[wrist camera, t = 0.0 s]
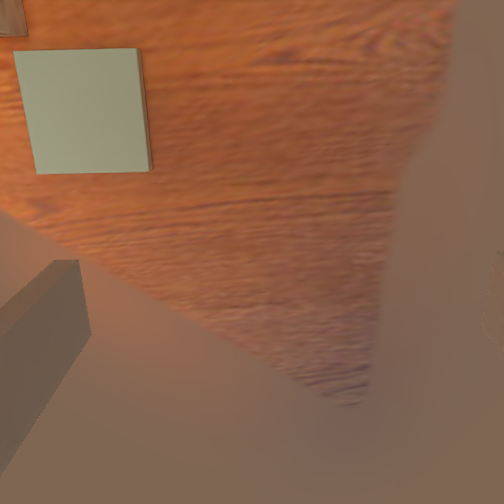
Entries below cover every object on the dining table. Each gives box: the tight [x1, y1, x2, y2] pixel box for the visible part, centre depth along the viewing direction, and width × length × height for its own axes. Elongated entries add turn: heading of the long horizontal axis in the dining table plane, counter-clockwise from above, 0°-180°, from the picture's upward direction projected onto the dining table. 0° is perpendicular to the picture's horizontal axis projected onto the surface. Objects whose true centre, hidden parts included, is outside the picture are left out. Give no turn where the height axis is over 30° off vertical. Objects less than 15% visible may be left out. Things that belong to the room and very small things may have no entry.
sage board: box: [13, 48, 153, 174], centre depth 38 cm, size 10×10×2 cm
